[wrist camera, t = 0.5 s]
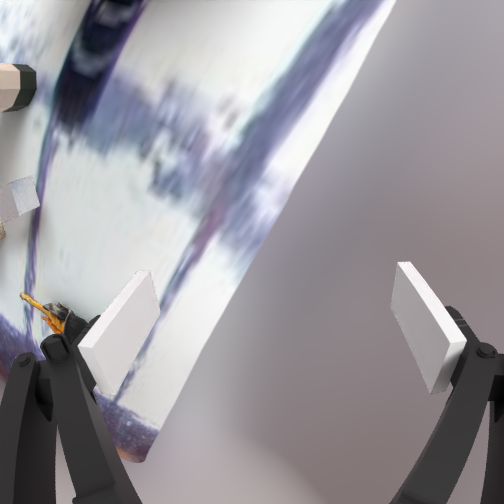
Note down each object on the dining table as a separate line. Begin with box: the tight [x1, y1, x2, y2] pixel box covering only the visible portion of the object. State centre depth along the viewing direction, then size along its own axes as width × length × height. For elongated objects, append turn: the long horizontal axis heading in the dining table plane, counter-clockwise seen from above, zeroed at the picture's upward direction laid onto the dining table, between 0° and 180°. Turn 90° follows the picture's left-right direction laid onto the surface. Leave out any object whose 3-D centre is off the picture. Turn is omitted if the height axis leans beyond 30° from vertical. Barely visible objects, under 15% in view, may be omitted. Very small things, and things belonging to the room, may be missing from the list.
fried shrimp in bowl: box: [20, 293, 87, 346], centre depth 50 cm, size 9×11×18 cm
